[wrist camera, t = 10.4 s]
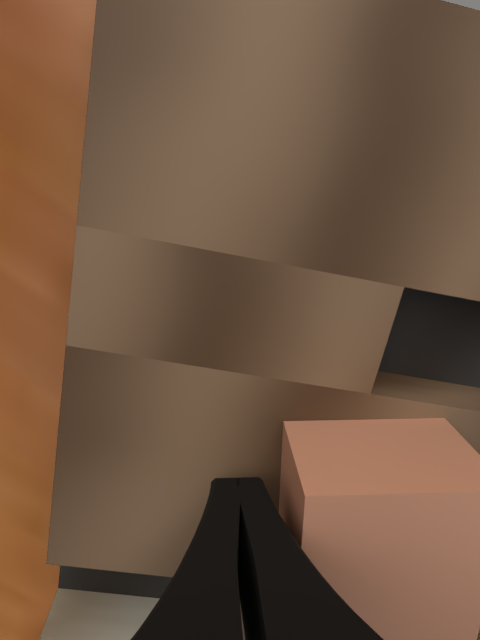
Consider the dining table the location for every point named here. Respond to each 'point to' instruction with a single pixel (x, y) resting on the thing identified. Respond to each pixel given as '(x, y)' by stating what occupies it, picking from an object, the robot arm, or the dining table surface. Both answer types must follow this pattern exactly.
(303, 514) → the block
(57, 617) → the board
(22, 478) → the dining table surface
